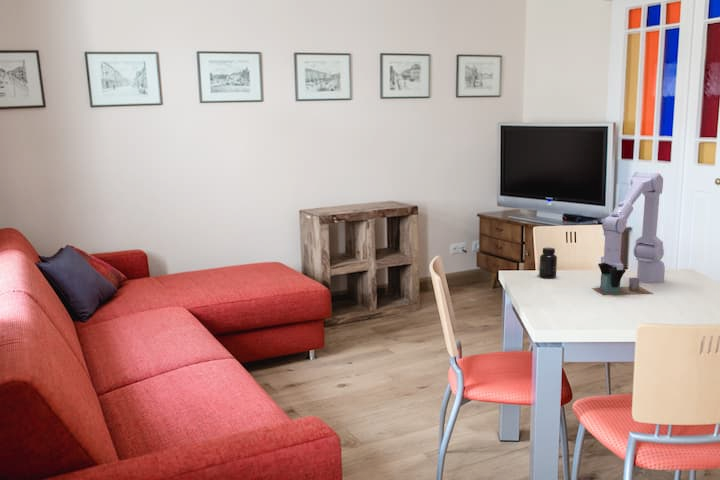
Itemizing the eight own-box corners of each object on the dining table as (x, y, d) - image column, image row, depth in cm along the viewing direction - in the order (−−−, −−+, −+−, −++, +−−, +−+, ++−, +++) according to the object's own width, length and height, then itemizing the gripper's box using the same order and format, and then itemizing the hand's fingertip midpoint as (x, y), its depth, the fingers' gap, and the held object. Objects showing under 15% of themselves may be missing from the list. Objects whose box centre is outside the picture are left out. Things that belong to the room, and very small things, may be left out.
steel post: (635, 289, 249) (636, 277, 248) (638, 291, 247) (639, 279, 246) (628, 289, 249) (629, 277, 248) (631, 291, 246) (632, 279, 246)
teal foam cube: (613, 289, 250) (614, 273, 249) (619, 292, 245) (620, 276, 244) (600, 289, 250) (601, 274, 249) (606, 293, 245) (607, 277, 244)
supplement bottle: (558, 278, 271) (559, 249, 269) (541, 278, 271) (542, 250, 269) (553, 274, 277) (554, 246, 275) (537, 275, 278) (538, 246, 275)
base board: (639, 288, 254) (639, 286, 254) (653, 295, 243) (654, 293, 243) (591, 289, 253) (591, 287, 252) (603, 297, 242) (603, 295, 242)
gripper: (593, 245, 251) (592, 280, 254) (610, 253, 237) (608, 289, 240) (612, 245, 252) (610, 279, 254) (629, 252, 238) (627, 289, 240)
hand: (610, 284), depth 247 cm, fingers open, 7 cm apart
